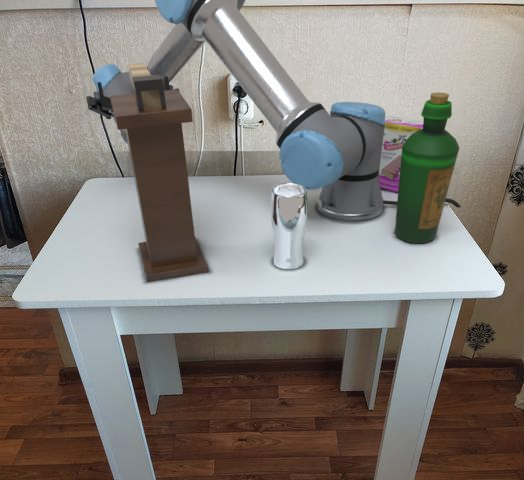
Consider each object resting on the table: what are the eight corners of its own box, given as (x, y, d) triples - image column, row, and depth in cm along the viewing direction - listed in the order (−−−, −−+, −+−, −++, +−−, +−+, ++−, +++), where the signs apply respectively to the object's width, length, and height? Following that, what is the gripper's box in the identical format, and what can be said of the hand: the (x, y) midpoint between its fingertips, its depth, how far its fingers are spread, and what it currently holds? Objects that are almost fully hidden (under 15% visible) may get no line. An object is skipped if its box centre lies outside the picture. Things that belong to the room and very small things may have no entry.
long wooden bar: (127, 82, 98) (122, 56, 96) (150, 80, 99) (146, 54, 97) (138, 111, 82) (134, 80, 79) (166, 108, 83) (162, 78, 80)
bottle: (441, 249, 106) (473, 103, 89) (389, 245, 108) (410, 101, 91) (438, 226, 114) (467, 88, 97) (389, 223, 116) (409, 87, 99)
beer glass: (264, 262, 104) (262, 190, 94) (286, 250, 108) (287, 179, 98) (290, 274, 100) (291, 200, 90) (312, 261, 104) (316, 188, 94)
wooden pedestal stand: (139, 249, 109) (109, 95, 91) (195, 240, 112) (177, 89, 93) (147, 282, 99) (115, 116, 80) (208, 271, 101) (191, 108, 83)
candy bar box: (369, 188, 132) (377, 120, 122) (377, 181, 136) (385, 115, 125) (411, 196, 127) (423, 127, 117) (418, 189, 131) (430, 121, 120)
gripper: (187, 128, 130) (197, 99, 109) (86, 138, 125) (75, 111, 104) (182, 96, 128) (190, 62, 108) (79, 106, 123) (67, 71, 103)
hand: (134, 86), depth 106 cm, fingers open, 13 cm apart
